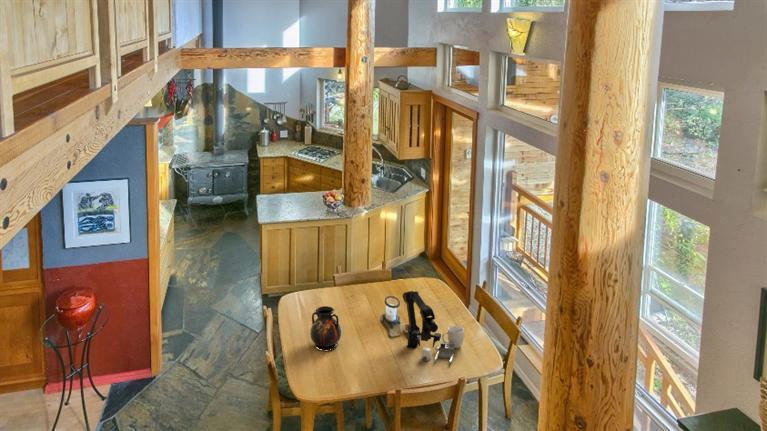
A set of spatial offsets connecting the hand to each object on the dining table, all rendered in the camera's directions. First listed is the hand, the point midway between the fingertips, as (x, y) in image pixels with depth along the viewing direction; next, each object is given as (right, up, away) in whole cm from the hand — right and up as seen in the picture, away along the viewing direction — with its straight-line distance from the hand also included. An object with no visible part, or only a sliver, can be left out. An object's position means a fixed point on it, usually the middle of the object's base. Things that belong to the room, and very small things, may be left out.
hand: (426, 346), depth 433 cm
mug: (+21, -3, +19) cm, 28 cm away
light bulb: (0, -9, +2) cm, 9 cm away
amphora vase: (-68, -4, +20) cm, 72 cm away
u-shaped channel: (+12, -8, +4) cm, 15 cm away
